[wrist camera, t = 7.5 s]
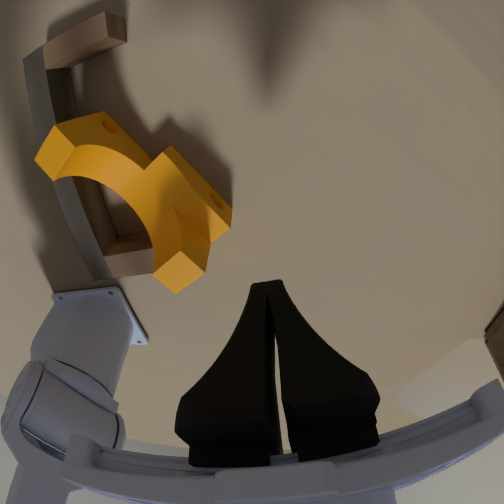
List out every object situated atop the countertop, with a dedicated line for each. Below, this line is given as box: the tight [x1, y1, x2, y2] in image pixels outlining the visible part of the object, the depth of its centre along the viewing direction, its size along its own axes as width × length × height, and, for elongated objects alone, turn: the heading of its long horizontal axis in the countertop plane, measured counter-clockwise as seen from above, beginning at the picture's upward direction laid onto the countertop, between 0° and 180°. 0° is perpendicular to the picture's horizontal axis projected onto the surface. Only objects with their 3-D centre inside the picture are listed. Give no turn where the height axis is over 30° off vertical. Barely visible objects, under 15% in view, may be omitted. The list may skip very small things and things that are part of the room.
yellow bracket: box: [34, 111, 232, 295], centre depth 16 cm, size 12×4×6 cm, turn 39°
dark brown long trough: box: [23, 11, 154, 281], centre depth 16 cm, size 7×18×3 cm, turn 9°
